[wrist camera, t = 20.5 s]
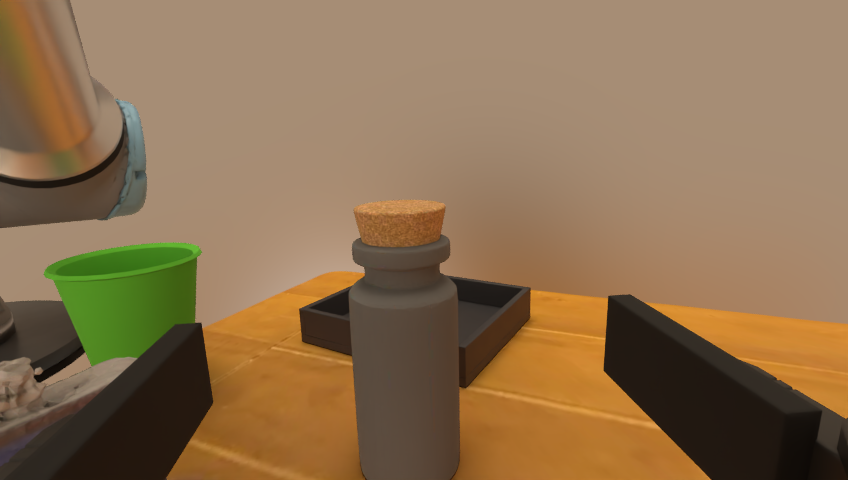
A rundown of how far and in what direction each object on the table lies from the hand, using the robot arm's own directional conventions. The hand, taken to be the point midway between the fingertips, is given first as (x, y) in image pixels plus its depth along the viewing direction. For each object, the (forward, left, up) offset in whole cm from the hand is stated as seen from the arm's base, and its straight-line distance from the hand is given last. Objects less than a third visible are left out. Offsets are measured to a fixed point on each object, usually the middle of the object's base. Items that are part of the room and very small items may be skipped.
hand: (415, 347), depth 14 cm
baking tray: (-15, +24, -12) cm, 30 cm away
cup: (-26, +4, -12) cm, 28 cm away
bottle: (-6, +8, -12) cm, 15 cm away
